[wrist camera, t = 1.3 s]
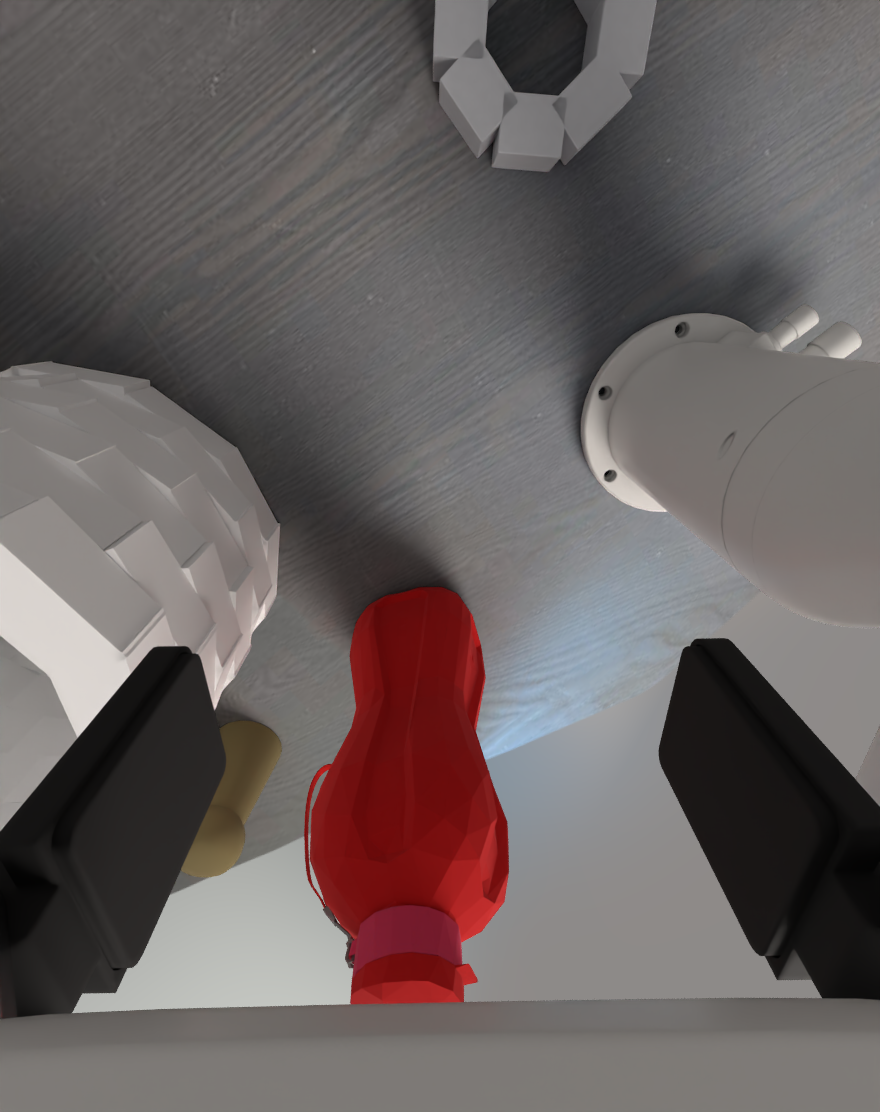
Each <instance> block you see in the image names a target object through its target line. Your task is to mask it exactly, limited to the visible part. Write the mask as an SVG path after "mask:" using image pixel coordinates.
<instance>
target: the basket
mask: <svg viewBox="0 0 880 1112" xmlns="http://www.w3.org/2000/svg"><path fill="white" fill-rule="evenodd" d="M279 538H280V523H277V521H276V519H275V517H274V515H273V514H272V512H271V510H270V508H269V506H268V504H267V502H266V500H265V499H264V497H263V495H262V493H261V491H260V489H259V487H258V485H257V484H256V482H255V480H254V478H253V476H252V474H251V472H250V471H249V469H248V467H247V465H246V463H245V461H244V459H243V457H242V456H241V454H240V452H239V450H238V448H237V447H235V446H233V445H232V444H230V443H229V442H228V441H226V440H225V439H224V438H222V437H221V436H219V435H218V434H217V433H215V432H214V431H213V430H211V429H210V428H209V427H207V426H206V425H204V424H203V423H202V422H200V421H199V420H198V419H196V418H195V417H193V416H192V415H191V414H189V413H188V412H187V411H185V410H184V409H182V408H181V407H180V406H178V405H177V404H176V403H174V402H173V401H172V400H170V399H169V398H167V397H166V396H165V395H163V394H162V393H161V392H159V391H158V390H156V389H155V388H154V387H150V380H147V379H141V378H136V377H130V376H125V375H119V374H114V373H108V372H102V371H97V370H91V369H86V368H80V367H75V366H69V365H64V364H58V363H53V362H52V361H48V362H40V363H33V364H25V365H18V366H11V368H10V369H7V370H5V371H3V372H0V831H1V830H2V829H3V827H4V826H5V825H6V824H7V823H8V821H9V820H10V819H11V818H12V817H13V815H14V814H15V813H16V812H17V810H18V809H19V808H20V807H21V806H22V804H23V803H24V802H25V801H26V800H27V798H28V797H29V796H30V795H31V794H32V792H33V791H34V790H35V789H36V788H37V786H38V785H39V784H40V783H41V782H42V780H43V779H44V778H45V777H46V775H47V774H48V773H49V772H50V771H51V769H52V768H53V767H54V766H55V765H56V763H57V762H58V761H59V760H60V759H61V757H62V756H63V755H64V754H65V753H66V751H67V750H68V749H69V748H70V747H71V745H72V744H73V743H74V742H75V740H76V739H77V738H78V737H79V736H80V734H81V733H82V732H83V731H84V730H85V728H86V727H87V726H88V725H89V724H90V722H91V721H92V720H93V719H94V718H95V716H96V715H97V714H98V713H99V712H100V710H101V709H102V708H103V707H104V705H105V704H106V703H107V702H108V701H109V699H110V698H111V697H112V696H113V695H114V693H115V692H116V691H117V690H118V689H119V687H120V686H121V685H122V684H123V683H124V681H125V680H126V679H127V678H128V677H129V675H130V674H131V673H132V672H133V670H134V669H135V668H136V667H137V666H138V664H139V663H140V662H141V661H142V660H143V658H144V657H145V656H146V655H147V654H148V652H149V651H150V650H151V649H152V648H154V647H157V646H187V647H189V648H190V650H191V651H192V653H196V654H198V655H199V656H200V658H201V661H202V665H203V669H204V672H205V676H206V680H207V684H208V688H209V692H210V696H211V699H212V703H213V707H214V711H215V709H216V706H217V703H218V701H219V698H220V695H221V693H222V691H223V690H224V688H225V687H226V686H227V685H228V684H229V683H230V681H231V680H232V679H234V678H235V676H236V674H237V673H238V671H239V669H240V667H241V665H242V663H243V662H244V660H245V658H246V656H247V654H248V652H249V651H250V648H251V635H252V633H253V631H254V630H255V628H256V627H257V626H258V625H259V624H260V622H261V621H262V620H263V619H264V618H265V617H266V615H267V613H268V611H269V609H270V608H271V606H272V604H273V602H274V600H275V598H276V596H277V576H278V557H279Z"/></svg>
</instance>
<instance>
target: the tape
mask: <svg viewBox="0 0 880 1112" xmlns="http://www.w3.org/2000/svg"><path fill="white" fill-rule="evenodd" d="M496 1H497V0H435V21H434V44H433V81H434V82H440V84H439V104H440V105H441V107H442V108H443V110H444V111H445V112H446V114H447V115H448V117H449V118H450V120H451V121H452V123H453V124H454V126H455V127H456V129H457V130H458V131H459V133H460V134H461V136H462V137H463V139H464V140H465V142H466V143H467V145H468V146H469V148H470V149H471V150H472V152H473V153H474V155H475V156H476V158H479V156H480V155H481V154H482V153H483V152H484V151H485V150H486V149H487V148H488V147H489V146H490V145H491V144H492V143H493V153H492V165H491V166H492V168H503V169H516V170H528V171H540V172H549V171H550V170H551V168H552V167H553V166H554V165H555V164H556V163H557V161H558V160H559V159H560V160H561V161H562V163H563V164H564V165H566V164H567V163H568V162H569V161H570V160H571V159H572V158H573V157H574V156H575V155H576V154H577V153H578V152H579V151H580V150H581V149H582V148H583V147H584V146H585V145H586V144H587V143H588V142H589V141H590V140H591V139H592V138H593V137H594V136H595V135H596V134H597V133H598V132H599V131H600V130H601V129H602V128H603V127H604V126H605V125H606V124H607V123H608V122H609V121H610V120H611V119H612V118H613V117H614V116H615V115H616V114H617V113H618V112H619V111H620V110H621V109H622V108H623V107H624V106H625V105H626V103H627V102H628V101H629V100H630V99H631V98H632V95H631V93H630V91H629V90H630V89H631V88H632V87H633V86H634V84H635V83H636V82H637V81H638V80H639V79H640V78H641V77H642V76H643V74H644V69H645V64H646V58H647V53H648V47H649V42H650V36H651V31H652V25H653V19H654V14H655V8H656V3H657V0H574V2H575V3H576V5H577V7H578V9H579V11H580V12H581V14H582V16H583V18H584V20H585V21H586V23H587V25H588V27H587V34H586V41H585V48H584V55H583V63H582V70H581V73H580V74H579V75H578V76H577V77H576V78H575V79H574V80H573V81H572V82H571V83H570V84H569V85H568V86H567V87H566V88H565V89H564V90H563V91H562V92H561V93H560V94H559V96H556V95H544V94H533V93H521V92H514V91H513V90H512V88H511V87H510V85H509V84H508V82H507V80H506V79H505V77H504V76H503V74H502V72H501V71H500V69H499V68H498V66H497V64H496V63H495V61H494V60H493V58H492V56H491V55H490V53H489V52H488V50H487V49H486V47H485V44H486V31H487V17H488V10H489V9H490V8H491V7H492V6H493V5H494V3H495V2H496Z"/></svg>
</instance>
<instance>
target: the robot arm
mask: <svg viewBox="0 0 880 1112" xmlns="http://www.w3.org/2000/svg"><path fill="white" fill-rule="evenodd" d="M818 321H819V317H818V314H817V313H816V311H815V310H814V309H813V308H812V307H811V306H809V305H806V304H803V305H801V306H800V307H798V308H797V309H796V310H795V311H793V312H792V313H791V314H789V315H788V316H787V317H786V318H784V319H783V320H782V321H781V323H780V324H778V325H777V326H776V327H775V328H773V329H772V330H771V331H769V332H765V331H762V332H760V333H756V332H755V331H753V330H752V329H751V328H749V327H748V326H746V325H745V324H744V323H742V322H739V321H737V320H734V319H732V318H729V317H727V316H722V315H715V314H709V313H689V314H683V315H677V316H671V317H668V318H665V319H663V320H660V321H657V322H655V323H652V324H650V325H648V326H647V327H645V328H643V329H641V330H640V331H638V332H636V333H635V334H633V335H632V336H631V337H629V338H628V339H627V340H626V341H625V342H623V343H622V344H621V345H620V346H619V347H618V348H616V350H615V351H614V352H613V353H612V354H611V355H610V357H609V358H608V359H607V360H606V361H605V362H604V364H603V365H602V367H601V368H600V370H599V372H598V373H597V375H596V377H595V378H594V380H593V382H592V384H591V386H590V389H589V391H588V394H587V396H586V399H585V402H584V407H583V412H582V417H581V442H582V447H583V453H584V456H585V459H586V461H587V464H588V466H589V468H590V470H591V472H592V473H593V475H594V476H595V478H596V479H597V480H598V482H599V483H600V484H601V485H602V486H603V487H604V488H605V489H606V490H607V491H608V492H609V493H610V494H612V495H613V496H614V497H616V498H617V499H618V500H620V501H621V502H624V503H626V504H628V505H630V506H632V507H635V508H639V509H643V510H648V511H659V512H669V513H670V514H671V515H672V516H673V517H675V518H676V519H677V520H678V521H679V522H680V523H682V524H683V525H684V526H685V527H686V528H687V529H689V530H690V531H691V532H692V533H693V534H694V535H696V536H697V537H698V538H699V539H700V540H701V541H703V542H704V543H705V544H706V545H707V546H708V547H710V548H711V549H712V550H713V551H714V552H715V553H717V554H718V555H719V556H720V557H721V558H722V559H724V560H725V561H726V562H727V563H728V564H729V565H731V566H732V567H733V568H734V569H735V570H736V571H738V572H739V573H740V574H741V575H742V576H743V577H745V578H746V579H747V580H748V581H749V582H751V583H752V584H754V585H755V586H756V587H757V588H758V589H759V590H761V591H762V592H763V593H764V594H766V595H767V596H768V597H770V598H771V599H773V600H774V601H775V602H777V603H778V604H780V605H781V606H783V607H785V608H787V609H788V610H790V611H792V612H794V613H796V614H798V615H801V616H804V617H806V618H809V619H812V620H815V621H818V622H821V623H826V624H830V625H837V626H845V627H856V628H880V363H876V362H867V361H859V360H851V359H844V358H845V357H846V356H848V355H849V354H850V353H852V352H853V351H855V350H856V349H857V348H859V347H860V346H861V342H862V340H861V338H860V335H859V333H858V332H857V331H856V330H855V328H854V327H852V326H851V325H849V324H848V323H845V322H841V321H840V322H837V323H835V324H834V325H832V326H831V327H830V328H828V329H827V330H826V331H824V332H823V333H822V334H820V335H819V336H818V337H817V338H815V339H814V340H813V341H811V342H810V343H809V344H808V345H807V347H806V348H805V349H803V350H802V351H801V352H799V353H793V352H784V351H782V349H783V348H784V347H785V346H786V345H788V344H789V343H790V342H792V341H793V340H795V339H798V338H799V337H800V336H801V335H803V334H804V333H805V332H807V331H808V330H809V329H811V328H812V327H813V326H815V325H816V324H817V323H818ZM677 325H678V326H679V328H680V329H679V332H678V333H676V334H675V328H676V326H677ZM602 387H604V389H605V392H604V393H603V394H602V395H599V390H600V389H601V388H602ZM608 470H610V471H609V474H608V475H604V473H605V472H606V471H608ZM659 760H660V764H661V767H662V769H663V771H664V773H665V775H666V777H667V779H668V781H669V783H670V785H671V787H672V789H673V791H674V793H675V795H676V797H677V799H678V801H679V803H680V805H681V807H682V809H683V811H684V813H685V815H686V817H687V819H688V821H689V823H690V825H691V827H692V829H693V831H694V833H695V835H696V837H697V839H698V841H699V843H700V845H701V847H702V849H703V851H704V853H705V855H706V857H707V859H708V861H709V863H710V865H711V867H712V869H713V871H714V873H715V875H716V877H717V879H718V881H719V883H720V885H721V887H722V889H723V891H724V893H725V895H726V897H727V899H728V901H729V903H730V905H731V907H732V909H733V911H734V913H735V915H736V917H737V919H738V921H739V923H740V925H741V927H742V929H743V931H744V933H745V935H746V937H747V939H748V941H749V943H750V945H751V947H752V948H753V950H754V951H755V952H756V953H757V954H759V955H760V956H765V957H766V959H767V961H768V963H769V965H770V967H771V969H772V970H773V973H774V975H775V977H776V979H777V980H811V979H812V981H813V983H814V985H815V986H816V988H817V990H818V992H819V993H820V995H821V997H822V998H702V999H632V1000H631V999H628V1000H627V999H625V1000H559V1001H558V1000H557V1001H502V1002H448V1003H398V1004H349V1005H313V1006H312V1005H308V1006H273V1007H272V1006H270V1007H230V1008H193V1009H192V1008H191V1009H190V1008H189V1009H156V1010H134V1011H112V1012H90V1013H72V1012H73V1010H74V1008H75V1006H76V1004H77V1002H78V1000H79V998H80V997H81V995H82V993H116V991H117V989H118V987H119V985H120V983H121V981H122V978H123V976H124V974H125V972H126V969H127V968H132V967H134V966H135V965H136V964H137V963H138V961H139V960H140V958H141V956H142V955H143V953H144V950H145V948H146V946H147V944H148V941H149V939H150V937H151V935H152V933H153V930H154V928H155V926H156V924H157V921H158V919H159V917H160V915H161V912H162V910H163V908H164V906H165V904H166V901H167V899H168V897H169V895H170V893H171V890H172V888H173V886H174V884H175V882H176V879H177V877H178V875H179V873H180V870H181V868H182V866H183V864H184V862H185V859H186V857H187V855H188V853H189V850H190V848H191V846H192V844H193V842H194V839H195V837H196V835H197V833H198V830H199V828H200V826H201V824H202V822H203V819H204V817H205V815H206V813H207V810H208V808H209V806H210V804H211V802H212V799H213V797H214V795H215V793H216V790H217V788H218V786H219V784H220V781H221V779H222V777H223V775H224V772H225V767H226V753H225V749H224V746H223V742H222V738H221V734H220V730H219V726H218V722H217V719H216V715H215V711H214V707H213V703H212V699H211V696H210V692H209V688H208V684H207V680H206V676H205V672H204V669H203V665H202V661H201V658H200V656H199V655H198V654H196V653H192V651H191V650H190V648H189V647H187V646H157V647H154V648H152V649H151V650H150V651H149V652H148V654H147V655H146V656H145V657H144V658H143V660H142V661H141V662H140V663H139V664H138V666H137V667H136V668H135V669H134V670H133V672H132V673H131V674H130V675H129V677H128V678H127V679H126V680H125V681H124V683H123V684H122V685H121V686H120V687H119V689H118V690H117V691H116V692H115V693H114V695H113V696H112V697H111V698H110V699H109V701H108V702H107V703H106V704H105V705H104V707H103V708H102V709H101V710H100V712H99V713H98V714H97V715H96V716H95V718H94V719H93V720H92V721H91V722H90V724H89V725H88V726H87V727H86V728H85V730H84V731H83V732H82V733H81V734H80V736H79V737H78V738H77V739H76V740H75V742H74V743H73V744H72V745H71V747H70V748H69V749H68V750H67V751H66V753H65V754H64V755H63V756H62V757H61V759H60V760H59V761H58V762H57V763H56V765H55V766H54V767H53V768H52V769H51V771H50V772H49V773H48V774H47V775H46V777H45V778H44V779H43V780H42V782H41V783H40V784H39V785H38V786H37V788H36V789H35V790H34V791H33V792H32V794H31V795H30V796H29V797H28V798H27V800H26V801H25V802H24V803H23V804H22V806H21V807H20V808H19V809H18V810H17V812H16V813H15V814H14V815H13V817H12V818H11V819H10V820H9V821H8V823H7V824H6V825H5V826H4V827H3V829H2V830H1V831H0V1112H880V727H879V729H878V731H877V733H876V735H875V737H874V739H873V742H872V744H871V746H870V748H869V751H868V753H867V755H866V757H865V759H864V761H863V764H862V766H861V768H860V770H859V773H858V775H857V777H856V779H855V778H854V777H853V776H852V775H851V774H850V773H849V772H848V771H847V769H846V768H845V767H844V766H843V765H842V764H841V763H840V762H839V760H838V759H837V758H836V757H835V756H834V755H833V754H832V753H831V752H830V750H829V749H828V748H827V747H826V746H825V745H824V744H823V743H822V742H821V741H820V740H819V738H818V737H817V736H816V735H815V734H814V733H813V732H812V731H811V729H810V728H809V727H808V726H807V725H806V724H805V723H804V721H803V720H802V719H801V718H800V717H799V716H798V715H797V714H796V713H795V711H793V709H792V708H791V707H790V706H789V705H788V704H787V703H786V702H785V700H784V699H783V698H782V697H781V696H780V695H779V694H778V693H777V691H776V690H775V689H774V688H773V687H772V686H771V685H770V684H769V683H768V681H767V680H766V679H765V678H764V677H763V676H762V675H761V674H760V673H759V671H758V670H757V669H756V668H755V667H754V666H753V665H752V664H751V663H750V661H749V660H748V659H747V658H746V657H745V656H744V655H743V654H742V652H741V651H740V650H739V649H738V648H737V647H736V646H735V645H734V644H733V643H732V642H731V641H730V640H729V639H725V638H717V639H716V638H714V639H695V640H694V641H693V642H692V643H691V646H687V647H685V648H684V649H683V651H682V654H681V658H680V662H679V666H678V671H677V675H676V679H675V683H674V687H673V691H672V696H671V700H670V704H669V708H668V712H667V716H666V721H665V725H664V729H663V733H662V737H661V741H660V745H659Z"/></svg>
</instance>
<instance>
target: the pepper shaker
mask: <svg viewBox="0 0 880 1112" xmlns="http://www.w3.org/2000/svg"><path fill="white" fill-rule="evenodd" d="M219 730H220V734H221V738H222V742H223V746H224V749H225V753H226V767H225V772H224V775H223V777H222V779H221V781H220V784H219V786H218V788H217V790H216V793H215V795H214V797H213V799H212V802H211V804H210V806H209V808H208V810H207V813H206V815H205V817H204V819H203V822H202V824H201V826H200V828H199V830H198V833H197V835H196V837H195V839H194V842H193V844H192V846H191V848H190V850H189V853H188V855H187V857H186V859H185V862H184V864H183V866H182V868H181V871H183V872H184V873H187V874H189V875H192V876H196V877H213V876H218V875H221V874H223V873H225V872H226V871H227V870H229V869H230V868H231V867H232V866H233V865H234V864H235V863H236V861H237V860H238V858H239V857H240V855H241V852H242V849H243V846H244V843H245V829H244V824H245V822H246V821H247V819H248V817H249V815H250V813H251V811H252V809H253V807H254V805H255V803H256V801H257V799H258V798H259V796H260V794H261V792H262V790H263V788H264V786H265V784H266V782H267V780H268V778H269V777H270V775H271V773H272V771H273V769H274V767H275V765H276V763H277V761H278V759H279V757H280V754H281V752H282V748H281V742H280V740H279V738H278V737H277V735H276V734H275V733H274V732H273V731H272V730H271V729H269V728H267V727H266V726H264V725H262V724H259V723H256V722H252V721H235V722H230V723H228V724H226V725H224V726H222V727H221V728H220V729H219Z"/></svg>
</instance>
